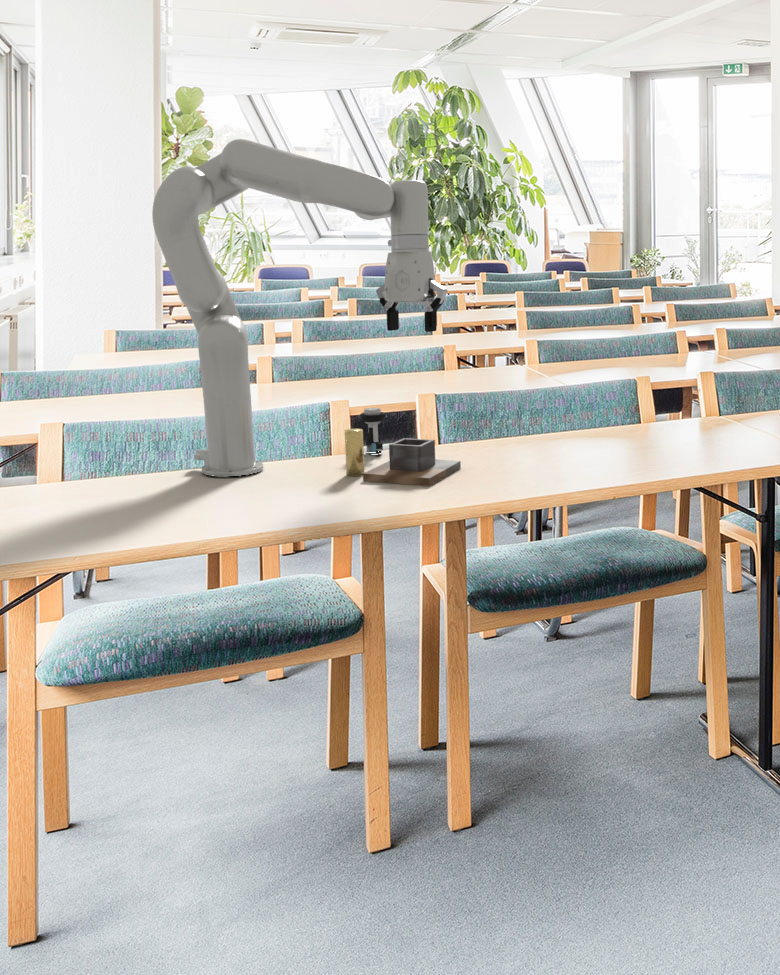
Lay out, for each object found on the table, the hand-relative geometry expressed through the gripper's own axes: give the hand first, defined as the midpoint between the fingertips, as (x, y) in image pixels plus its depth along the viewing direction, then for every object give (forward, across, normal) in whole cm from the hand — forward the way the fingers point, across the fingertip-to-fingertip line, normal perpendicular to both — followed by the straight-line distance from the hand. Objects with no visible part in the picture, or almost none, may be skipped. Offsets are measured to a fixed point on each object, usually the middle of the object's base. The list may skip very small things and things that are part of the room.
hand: (411, 330), depth 192 cm
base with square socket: (+27, +8, -11) cm, 30 cm away
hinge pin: (+27, -2, -17) cm, 32 cm away
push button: (+27, -11, 0) cm, 30 cm away
